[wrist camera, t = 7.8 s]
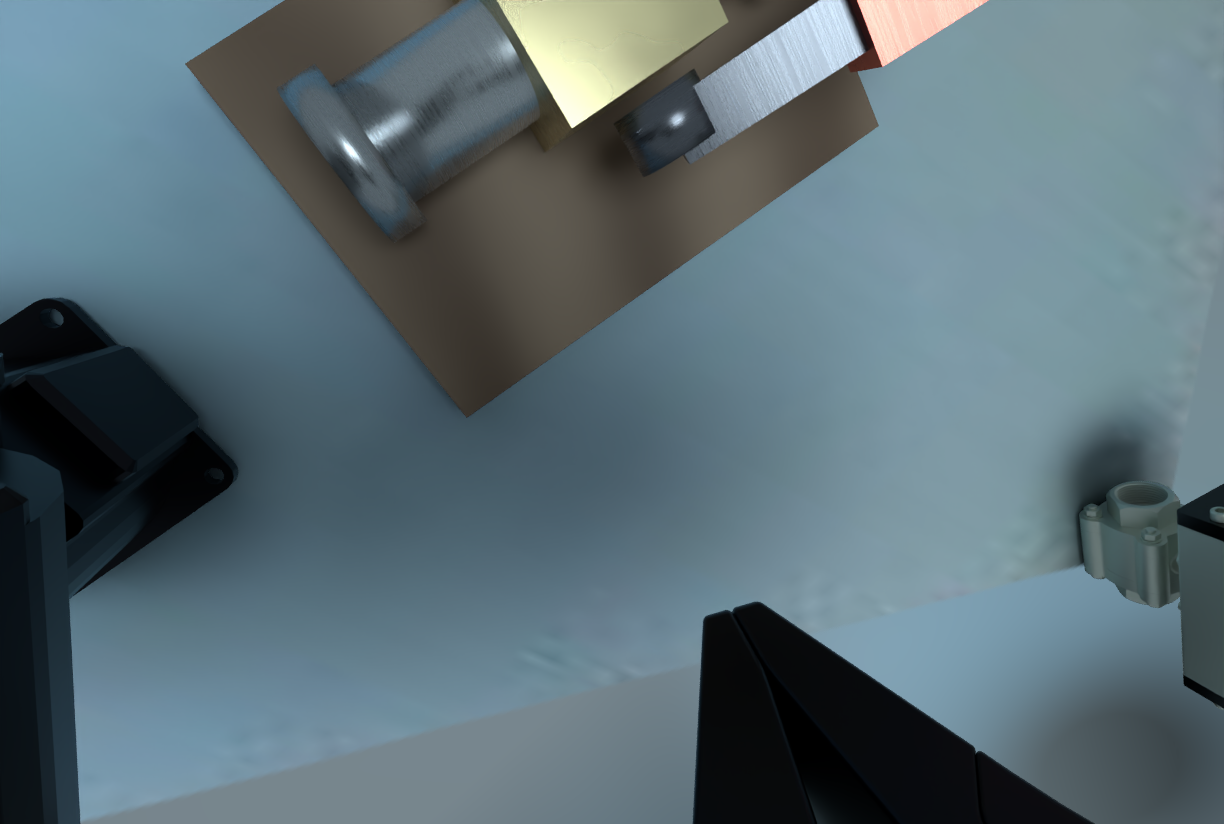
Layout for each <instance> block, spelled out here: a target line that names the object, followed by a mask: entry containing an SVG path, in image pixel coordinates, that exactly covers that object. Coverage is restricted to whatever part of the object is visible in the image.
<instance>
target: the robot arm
mask: <svg viewBox="0 0 1224 824" xmlns="http://www.w3.org/2000/svg"><path fill="white" fill-rule="evenodd" d="M51 309H56V310H57V311H59V312H60V313H61V314H62V316H63V317H64V322H63V324H62V325H61V326H57V325H55V324H54V323H52V322H51V320H50V318H49V312H50V311H51ZM210 468H218V469H220V470H221V471H222V472H223V473H224V479H221V480H220V479H215V478H213V477H211V475H210V473H209V469H210ZM237 475H238V469H237V466H236V464H235V463H234V462H233V460H232V459H231V458H230V457H229V456H228V455H227V454H226V453H225V452H224V451H223V450H222V449H221V448H219V447H218V446H217V445H216V444H215V443H214V442H213V441H212V440H211V439H210V438H209V437H208V436H207V435H206V434H205V433H204V432H203V431H202V430H201V429H200V428H199V427H198V415H197V414H196V413H195V412H194V411H193V410H192V409H191V408H190V407H189V406H188V405H187V404H186V403H185V402H184V401H183V400H182V399H181V398H180V397H179V396H178V395H177V394H176V393H175V392H174V391H173V390H172V389H171V388H170V387H169V386H168V385H167V384H166V383H165V382H164V381H163V380H162V379H161V378H160V377H159V376H158V375H157V374H156V373H155V372H154V371H153V370H152V369H151V368H150V367H149V366H148V365H147V364H146V363H145V362H144V361H143V360H142V359H141V358H140V357H139V356H138V355H137V354H136V353H135V352H134V351H133V350H132V349H131V348H129V347H123V346H117V345H116V344H115V343H114V342H113V341H112V340H111V339H110V338H109V337H108V336H107V335H106V334H105V333H104V332H103V331H102V330H101V329H100V328H99V327H98V326H97V325H96V324H95V323H94V322H93V321H92V320H91V319H90V318H89V317H88V316H87V315H86V314H85V313H84V312H83V311H82V310H81V309H80V308H79V307H78V306H77V305H75V304H74V303H73V302H71V301H70V300H67V299H64V298H46V299H41V300H39V301H36V302H34V303H33V304H31V305H30V306H28V307H26V308H25V309H23V310H22V311H20V312H19V313H17V314H16V315H14V316H13V317H11V318H10V319H8V320H7V321H5V322H4V323H2V324H1V325H0V824H80V808H79V788H78V768H77V748H76V729H75V709H74V689H73V669H72V649H71V629H70V609H69V599H70V598H71V597H72V596H74V595H75V594H77V593H78V592H80V591H81V590H82V589H84V588H85V587H87V586H88V585H90V584H91V583H92V582H94V581H95V580H97V579H98V578H100V577H101V576H103V575H104V574H105V573H107V572H108V571H110V570H111V569H113V568H114V567H115V566H117V565H118V564H120V563H121V562H123V561H124V560H126V559H127V558H128V557H130V556H131V555H133V554H134V553H136V552H137V551H138V550H140V549H141V548H143V547H144V546H146V545H147V544H149V543H150V542H151V541H153V540H154V539H156V538H157V537H159V536H160V535H161V534H163V533H164V532H166V531H167V530H169V529H170V528H172V527H173V526H174V525H176V524H177V523H179V522H180V521H182V520H183V519H184V518H186V517H187V516H189V515H190V514H192V513H193V512H195V511H196V510H197V509H199V508H200V507H202V506H203V505H205V504H206V503H207V502H209V501H210V500H212V499H213V498H215V497H216V496H218V495H219V494H220V493H222V492H223V491H225V490H226V489H227V488H228V487H229V486H230V485H231V484H232V483H233V482H234V481H235V480H236V478H237ZM693 824H1094V823H1093V822H1091V821H1089V820H1088V819H1086V818H1084V817H1083V816H1081V815H1079V814H1078V813H1076V812H1074V811H1072V810H1071V809H1069V808H1067V807H1066V806H1064V805H1062V804H1061V803H1059V802H1058V801H1056V800H1055V799H1052V798H1051V797H1050V796H1048V795H1047V794H1045V793H1043V792H1042V791H1041V790H1039V789H1037V788H1036V787H1034V786H1033V785H1031V784H1030V783H1028V782H1027V781H1025V780H1024V779H1022V778H1020V777H1019V776H1017V775H1016V774H1014V773H1013V772H1011V771H1010V770H1008V769H1007V768H1005V767H1004V766H1002V765H1001V764H999V763H998V762H996V761H995V760H993V759H992V758H991V757H989V756H987V755H986V754H985V753H983V752H981V751H978V752H977V753H976V751H975V748H974V747H973V746H972V745H971V744H969V743H968V742H967V741H965V740H964V739H962V738H961V737H959V736H958V735H956V734H954V733H953V732H951V731H950V730H949V729H947V728H946V727H944V726H943V725H941V724H940V723H938V722H937V721H935V720H934V719H933V718H931V717H930V716H928V715H926V714H925V713H924V712H922V711H921V710H919V709H917V708H916V707H915V706H913V705H912V704H910V703H909V702H907V701H906V700H904V699H903V698H902V697H900V696H899V695H897V694H895V693H894V692H893V691H891V690H890V689H888V688H887V687H885V686H883V685H882V684H881V683H879V682H877V681H876V680H875V679H873V678H872V677H871V676H869V675H868V674H866V673H865V672H863V671H862V670H860V669H859V668H857V667H856V666H854V665H853V664H851V663H850V662H848V661H847V660H845V659H844V658H842V657H841V656H839V655H838V654H836V653H835V652H833V651H832V650H831V649H829V648H828V647H826V646H825V645H823V644H822V643H820V642H819V641H817V640H816V639H814V638H813V637H811V636H810V635H808V634H807V633H806V632H804V631H803V630H801V629H800V628H798V627H797V626H795V625H794V624H792V623H791V622H789V621H788V620H786V619H785V618H783V617H782V616H780V615H779V614H777V613H776V612H775V611H773V610H772V609H770V608H769V607H767V606H766V605H764V604H763V603H761V602H752V603H749V604H745V605H742V606H739V607H736V608H734V609H733V611H732V612H731V611H729V610H725V611H721V612H718V613H714V614H711V615H708V616H706V617H705V618H704V620H703V634H702V653H701V675H700V692H699V711H698V730H697V750H696V769H695V788H694V808H693Z"/></svg>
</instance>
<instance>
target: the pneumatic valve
mask: <svg viewBox="0 0 1224 824" xmlns="http://www.w3.org/2000/svg"><path fill="white" fill-rule="evenodd" d="M1079 518H1080V528H1081V537H1082V547H1083V557H1084V566H1085V571H1086V572H1087V573H1088V574H1090V575H1091V576H1092V577H1093V578H1096V579H1104V578H1107V579H1108V580H1110V581H1111V582H1113V583H1115V585H1116V587H1117V588H1118V590H1119V591H1120V593H1121V594H1122V595H1123V596H1124V597H1125V598H1127V599H1129V600H1131V601H1134V602H1137V603H1140V604H1144V605H1149V606H1151V607H1155V608H1160V607H1162V606H1164V605H1166V604H1169V603H1172V602H1173V601H1175V600H1176V599H1178V598H1179V597H1180V602H1179V604H1178V609H1179V610H1181V630H1182V631H1181V632H1182V654H1183V655H1182V656H1183V679H1184V680H1183V681H1184V685H1185V686H1186V687H1188V688H1190V689H1191V690H1193V691H1195V692H1196V693H1198V694H1200V695H1201V696H1203V697H1205V698H1206V699H1208V700H1210V701H1212V702H1213V703H1214V705H1215V706H1216V707H1218V708H1220V709H1222V710H1224V484H1222V485H1220V486H1219V487H1217V488H1215V489H1213V490H1211V491H1210V492H1208V493H1206V494H1204V495H1202V496H1200V497H1199V498H1197V499H1195V500H1194V501H1191V502H1190V503H1188V504H1186V505H1182V504H1180V500H1179V498H1178V497H1177V496H1176V494H1175V493H1174V492H1173V491H1172V490H1171V489H1170V488H1168V487H1167V486H1164V485H1162V484H1159V483H1155V482H1149V481H1130V482H1124V483H1121V484H1118V485H1116V486H1115V487H1113V488H1112V489H1111V490H1110V491H1108V493H1107V494H1106V501H1105V502H1104V503H1102V504H1101V505H1100V506H1098V505H1095V504H1089V505H1087V506H1085V507H1084V510H1082V511H1081V512H1080V513H1079Z"/></svg>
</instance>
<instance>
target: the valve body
mask: <svg viewBox="0 0 1224 824" xmlns="http://www.w3.org/2000/svg"><path fill="white" fill-rule="evenodd" d="M451 1H452V2H453V4H454V6H452V7H451V8H449V9H447V10H446V11H444V12H443V13H441V14H440V15H438V16H437V17H435V18H434V19H432V20H431V21H429V22H427V23H426V24H424V25H423V26H421V27H420V28H418V29H417V30H415V31H414V32H412V33H411V34H409V35H408V36H406V37H404V38H403V39H401V40H400V41H398V42H397V43H395V44H394V45H392V46H391V47H389V48H388V49H386V50H385V51H383V52H381V53H380V54H378V55H377V56H375V57H374V58H372V59H371V60H369V61H368V62H366V63H365V64H363V65H361V66H360V67H358V68H357V69H355V70H354V71H352V72H351V73H349V74H348V75H346V76H345V77H343V78H342V79H340V80H338V81H337V82H335V83H334V84H332V85H330V83H329V82H328V81H327V79H326V78H325V76H324V75H323V74H322V72H321V71H320V70H319V68H318V67H317V66H316V64H315V63H314V64H313V65H311V66H310V67H308V68H307V69H305V70H304V71H302V72H300V73H299V74H297V75H296V76H294V77H293V78H291V79H290V80H288V81H287V82H285V83H283V84H282V85H280V86H279V87H277V91H278V93H279V95H280V96H281V98H282V99H283V101H284V102H285V104H286V105H287V107H288V108H289V110H290V111H291V113H292V114H293V116H294V117H295V118H296V120H297V121H298V123H299V124H300V125H301V127H302V128H303V130H304V131H305V132H306V134H307V135H308V136H309V138H310V139H311V141H312V142H313V143H314V145H315V146H316V147H317V149H318V150H319V151H320V153H321V154H322V155H323V157H324V158H325V159H326V161H327V162H328V163H329V165H330V166H331V167H332V169H333V170H334V171H335V172H336V174H337V175H338V176H339V178H340V179H341V180H342V182H343V183H344V184H345V185H346V187H347V188H348V189H349V190H350V192H351V193H352V194H353V196H354V197H355V198H356V199H357V201H358V202H359V203H360V204H361V206H362V207H363V208H364V209H365V211H366V212H367V213H368V214H369V215H370V217H371V218H372V219H373V220H374V221H375V223H376V224H377V225H378V226H379V227H380V229H381V230H382V231H383V232H384V233H385V234H386V235H387V236H388V238H389V239H390V240H391V241H393V242H394V243H395V242H396V241H398V240H399V239H401V238H402V237H404V236H405V235H407V234H408V233H409V232H411V231H412V230H414V229H415V228H417V227H418V226H420V225H421V224H423V223H424V222H426V221H427V219H426V218H425V216H424V215H423V213H422V212H421V210H420V209H419V208H418V206H417V205H416V203H415V202H417V201H418V200H420V199H421V198H422V197H424V196H425V195H427V194H428V193H430V192H431V191H433V190H434V189H436V188H437V187H439V186H440V185H442V184H443V183H445V182H446V181H448V180H449V179H451V178H452V177H454V176H455V175H457V174H458V173H460V172H461V171H463V170H464V169H465V168H467V167H468V166H470V165H471V164H473V163H474V162H476V161H477V160H479V159H480V158H482V157H483V156H485V155H486V154H488V153H489V152H491V151H492V150H494V149H495V148H497V147H498V146H500V145H501V144H503V143H504V142H505V141H507V140H508V139H510V138H511V137H513V136H514V135H516V134H517V133H519V132H520V131H522V130H523V129H525V128H526V127H528V126H529V128H530V129H531V131H532V132H533V134H534V136H535V137H536V139H537V141H538V142H539V144H540V145H541V147H542V149H543V150H544V152H545V153H546V152H547V151H548V150H550V149H551V148H553V147H554V146H556V145H557V144H559V143H560V142H562V141H563V140H565V139H566V138H568V137H569V136H570V135H572V134H573V133H575V132H576V131H578V130H579V129H581V128H582V127H584V126H585V125H587V124H588V123H590V122H591V121H593V120H594V119H595V118H597V117H598V116H600V115H601V114H603V113H604V112H606V111H607V110H609V109H610V108H612V107H613V106H615V105H616V104H618V103H619V102H620V101H622V100H623V99H625V98H626V97H628V96H629V95H631V94H632V93H634V92H635V91H637V90H638V89H640V88H641V87H643V86H644V85H645V84H647V83H648V82H650V81H651V80H653V79H654V78H656V77H657V76H659V75H660V74H662V73H663V72H665V71H666V70H668V69H669V68H670V67H672V66H673V65H674V64H676V63H677V62H678V61H679V60H681V59H682V58H683V57H685V56H686V55H687V54H688V53H690V52H691V51H692V50H693V49H695V48H696V47H697V46H699V45H700V44H701V43H702V42H704V41H705V40H706V39H708V38H709V37H710V36H711V35H713V34H714V33H715V32H716V31H718V30H719V29H720V28H722V27H723V26H724V25H725V24H727V23H728V22H729V21H728V19H727V17H726V15H725V13H724V11H723V8H722V6H721V4H720V2H719V0H451Z"/></svg>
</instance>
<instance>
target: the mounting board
mask: <svg viewBox="0 0 1224 824" xmlns="http://www.w3.org/2000/svg"><path fill="white" fill-rule="evenodd" d="M817 1H818V0H719V2H720V4H721V6H722V8H723V11H724V13H725V15H726V17H727V19H728V21H729V22H728V23H727V24H725V25H724V26H723V27H722V28H720V29H719V30H718V31H716V32H715V33H714V34H713V35H711V36H710V37H709V38H708V39H706V40H705V41H704V42H702V43H701V44H700V45H699V46H697V47H696V48H695V49H693V50H692V51H691V52H690V53H688V54H687V55H686V56H685V57H683V58H682V59H681V60H679V61H678V62H677V63H676V64H674V65H673V66H672V67H670V68H669V69H668V70H666V71H665V72H663V73H662V74H660V75H659V76H657V77H656V78H654V79H653V80H651V81H650V82H648V83H647V84H645V85H644V86H643V87H641V88H640V89H638V90H637V91H635V92H634V93H632V94H631V95H629V96H628V97H626V98H625V99H623V100H622V101H620V102H619V103H618V104H616V105H615V106H613V107H612V108H610V109H609V110H607V111H606V112H604V113H603V114H601V115H600V116H598V117H597V118H595V119H594V120H593V121H591V122H590V123H588V124H587V125H585V126H584V127H582V128H581V129H579V130H578V131H576V132H575V133H573V134H572V135H570V136H569V137H568V138H566V139H565V140H563V141H562V142H560V143H559V144H557V145H556V146H554V147H553V148H551V149H550V150H548V151H547V152H546V153H545V152H544V150H543V149H542V147H541V145H540V144H539V142H538V141H537V139H536V137H535V136H534V134H533V132H532V131H531V129H530V128H529V126H528V127H526V128H525V129H523V130H522V131H520V132H519V133H517V134H516V135H514V136H513V137H511V138H510V139H508V140H507V141H505V142H504V143H503V144H501V145H500V146H498V147H497V148H495V149H494V150H492V151H491V152H489V153H488V154H486V155H485V156H483V157H482V158H480V159H479V160H477V161H476V162H474V163H473V164H471V165H470V166H468V167H467V168H465V169H464V170H463V171H461V172H460V173H458V174H457V175H455V176H454V177H452V178H451V179H449V180H448V181H446V182H445V183H443V184H442V185H440V186H439V187H437V188H436V189H434V190H433V191H431V192H430V193H428V194H427V195H425V196H424V197H422V198H421V199H420V200H418V201H417V202H415V203H416V205H417V206H418V208H419V209H420V210H421V212H422V213H423V215H424V216H425V218H426V219H427V221H426V222H424V223H423V224H421V225H420V226H418V227H417V228H415V229H414V230H412V231H411V232H409V233H408V234H407V235H405V236H404V237H402V238H401V239H399V240H398V241H396V242H395V243H394V242H393V241H391V240H390V239H389V238H388V236H387V235H386V234H385V233H384V232H383V231H382V230H381V229H380V227H379V226H378V225H377V224H376V223H375V221H374V220H373V219H372V218H371V217H370V215H369V214H368V213H367V212H366V211H365V209H364V208H363V207H362V206H361V204H360V203H359V202H358V201H357V199H356V198H355V197H354V196H353V194H352V193H351V192H350V190H349V189H348V188H347V187H346V185H345V184H344V183H343V182H342V180H341V179H340V178H339V176H338V175H337V174H336V172H335V171H334V170H333V169H332V167H331V166H330V165H329V163H328V162H327V161H326V159H325V158H324V157H323V155H322V154H321V153H320V151H319V150H318V149H317V147H316V146H315V145H314V143H313V142H312V141H311V139H310V138H309V136H308V135H307V134H306V132H305V131H304V130H303V128H302V127H301V125H300V124H299V123H298V121H297V120H296V118H295V117H294V116H293V114H292V113H291V111H290V110H289V108H288V107H287V105H286V104H285V102H284V101H283V99H282V98H281V96H280V95H279V93H278V91H277V87H279V86H280V85H282V84H283V83H285V82H287V81H288V80H290V79H291V78H293V77H294V76H296V75H297V74H299V73H300V72H302V71H304V70H305V69H307V68H308V67H310V66H311V65H313V64H314V63H315V64H316V66H317V67H318V68H319V70H320V71H321V72H322V74H323V75H324V76H325V78H326V79H327V81H328V82H329V83H330V85H332V84H334V83H335V82H337V81H338V80H340V79H342V78H343V77H345V76H346V75H348V74H349V73H351V72H352V71H354V70H355V69H357V68H358V67H360V66H361V65H363V64H365V63H366V62H368V61H369V60H371V59H372V58H374V57H375V56H377V55H378V54H380V53H381V52H383V51H385V50H386V49H388V48H389V47H391V46H392V45H394V44H395V43H397V42H398V41H400V40H401V39H403V38H404V37H406V36H408V35H409V34H411V33H412V32H414V31H415V30H417V29H418V28H420V27H421V26H423V25H424V24H426V23H427V22H429V21H431V20H432V19H434V18H435V17H437V16H438V15H440V14H441V13H443V12H444V11H446V10H447V9H449V8H451V7H452V6H454V4H453V2H452V1H451V0H285V1H283V2H281V3H280V4H278V5H277V6H275V7H274V8H272V9H270V10H269V11H267V12H266V13H264V14H263V15H261V16H259V17H258V18H256V19H255V20H253V21H252V22H250V23H248V24H247V25H245V26H244V27H242V28H241V29H239V30H237V31H236V32H234V33H233V34H231V35H230V36H228V37H226V38H225V39H223V40H222V41H220V42H219V43H217V44H215V45H214V46H212V47H211V48H209V49H208V50H206V51H204V52H203V53H201V54H200V55H198V56H197V57H195V58H193V59H192V60H190V61H189V62H187V63H186V66H187V67H188V68H189V69H190V71H191V72H192V73H193V74H194V76H195V77H196V78H197V79H198V81H199V82H200V83H201V84H202V86H203V87H204V88H205V89H206V91H207V92H208V93H209V94H210V96H211V97H212V98H213V99H214V101H215V102H216V103H217V105H218V106H219V107H220V108H221V110H222V111H223V112H224V113H225V115H226V116H227V117H228V118H229V120H230V121H231V122H232V123H233V125H234V126H235V127H236V128H237V130H238V131H239V132H240V133H241V135H242V136H243V137H244V138H245V140H246V141H247V142H248V143H249V145H250V146H251V147H252V149H253V150H254V151H255V152H256V154H257V155H258V156H259V157H260V159H261V160H262V161H263V162H264V164H265V165H266V166H267V167H268V169H269V170H270V171H271V172H272V174H273V175H274V176H275V177H276V179H277V180H278V181H279V182H280V184H281V185H282V186H283V187H284V189H285V190H286V191H287V193H288V194H289V195H290V196H291V198H292V199H293V200H294V201H295V203H296V204H297V205H298V206H299V208H300V209H301V210H302V211H303V213H304V214H305V215H306V216H307V218H308V219H309V220H310V221H311V223H312V224H313V225H314V226H315V228H316V229H317V230H318V231H319V233H320V234H321V235H322V236H323V238H324V239H325V240H326V242H327V243H328V244H329V245H330V247H331V248H332V249H333V250H334V252H335V253H336V254H337V255H338V257H339V258H340V259H341V260H342V262H343V263H344V264H345V265H346V267H347V268H348V269H349V270H350V272H351V273H352V274H353V275H354V277H355V278H356V279H357V280H358V282H359V283H360V284H361V286H362V287H363V288H364V289H365V291H366V292H367V293H368V294H369V296H370V297H371V298H372V299H373V301H374V302H375V303H376V304H377V306H378V307H379V308H380V309H381V311H382V312H383V313H384V314H385V316H386V317H387V318H388V319H389V321H390V322H391V323H392V324H393V326H394V327H395V328H396V330H397V331H398V332H399V333H400V335H401V336H402V337H403V338H404V340H405V341H406V342H407V343H408V345H409V346H410V347H411V348H412V350H413V351H414V352H415V353H416V355H417V356H418V357H419V358H420V360H421V361H422V362H423V363H424V365H425V366H426V367H427V368H428V370H429V371H430V372H431V374H432V375H433V376H434V377H435V379H436V380H437V381H438V382H439V384H440V385H441V386H442V387H443V389H444V390H445V391H446V392H447V394H448V395H449V396H450V397H451V399H452V400H453V401H454V402H455V404H456V405H457V406H458V407H459V409H460V410H461V411H462V412H463V414H464V415H465V416H466V418H467V417H469V416H470V415H471V414H473V413H474V412H476V411H477V410H478V409H480V408H481V407H483V406H484V405H486V404H487V403H488V402H490V401H491V400H493V399H494V398H495V397H497V396H498V395H500V394H501V393H502V392H504V391H505V390H507V389H508V388H510V387H511V386H512V385H514V384H515V383H517V382H518V381H519V380H521V379H522V378H524V377H525V376H526V375H528V374H529V373H531V372H532V371H534V370H535V369H536V368H538V367H539V366H541V365H542V364H543V363H545V362H546V361H548V360H549V359H550V358H552V357H553V356H555V355H556V354H557V353H559V352H560V351H562V350H563V349H565V348H566V347H567V346H569V345H570V344H572V343H573V342H574V341H576V340H577V339H579V338H580V337H581V336H583V335H584V334H586V333H587V332H589V331H590V330H591V329H593V328H594V327H596V326H597V325H598V324H600V323H601V322H603V321H604V320H605V319H607V318H608V317H610V316H611V315H613V314H614V313H615V312H617V311H618V310H620V309H621V308H622V307H624V306H625V305H627V304H628V303H629V302H631V301H632V300H634V299H635V298H636V297H638V296H639V295H641V294H642V293H644V292H645V291H646V290H648V289H649V288H651V287H652V286H653V285H655V284H656V283H658V282H659V281H660V280H662V279H663V278H665V277H666V276H668V275H669V274H670V273H672V272H673V271H675V270H676V269H677V268H679V267H680V266H682V265H683V264H684V263H686V262H687V261H689V260H690V259H692V258H693V257H694V256H696V255H697V254H699V253H700V252H701V251H703V250H704V249H706V248H707V247H708V246H710V245H711V244H713V243H714V242H715V241H717V240H718V239H720V238H721V237H723V236H724V235H725V234H727V233H728V232H730V231H731V230H732V229H734V228H735V227H737V226H738V225H739V224H741V223H742V222H744V221H745V220H747V219H748V218H749V217H751V216H752V215H754V214H755V213H756V212H758V211H759V210H761V209H762V208H763V207H765V206H766V205H768V204H769V203H770V202H772V201H773V200H775V199H776V198H778V197H779V196H780V195H782V194H783V193H785V192H786V191H787V190H789V189H790V188H792V187H793V186H794V185H796V184H797V183H799V182H800V181H802V180H803V179H804V178H806V177H807V176H809V175H810V174H811V173H813V172H814V171H816V170H817V169H818V168H820V167H821V166H823V165H824V164H826V163H827V162H828V161H830V160H831V159H833V158H834V157H835V156H837V155H838V154H840V153H841V152H842V151H844V150H845V149H847V148H848V147H849V146H851V145H852V144H854V143H855V142H857V141H858V140H859V139H861V138H862V137H864V136H865V135H866V134H868V133H869V132H871V131H872V130H873V129H875V128H876V127H878V126H879V125H878V123H877V120H876V118H875V115H874V113H873V110H872V108H871V105H870V102H869V100H868V97H867V95H866V92H865V90H864V87H863V85H862V82H861V80H860V77H859V75H858V72H852V73H850V70H849V68H848V65H847V64H846V65H845V66H843V67H842V68H840V69H839V70H837V71H836V72H834V73H832V74H831V75H829V76H828V77H826V78H825V79H823V80H821V81H820V82H818V83H817V84H815V85H814V86H812V87H811V88H809V89H807V90H806V91H804V92H803V93H801V94H800V95H798V96H797V97H795V98H793V99H792V100H790V101H789V102H787V103H786V104H784V105H783V106H781V107H779V108H778V109H776V110H775V111H773V112H772V113H770V114H768V115H767V116H765V117H764V118H762V119H761V120H759V121H758V122H756V123H754V124H753V125H751V126H750V127H748V128H747V129H745V130H744V131H742V132H740V133H739V134H737V135H736V136H734V137H733V138H731V139H729V140H728V141H726V142H725V143H723V144H722V145H720V146H719V147H717V148H715V149H714V150H712V151H711V152H709V153H708V154H706V155H705V156H703V157H701V158H700V159H698V160H697V161H695V162H694V163H692V164H689V163H688V162H687V161H686V160H685V158H684V156H681V157H680V158H678V159H676V160H675V161H673V162H672V163H670V164H668V165H667V166H665V167H663V168H661V169H660V170H658V171H656V172H654V173H652V174H650V175H648V176H645V177H643V176H642V174H641V172H640V170H639V169H638V167H637V165H636V163H635V161H634V160H633V158H632V156H631V154H630V152H629V151H628V149H627V147H626V145H625V144H624V142H623V140H622V138H621V136H620V135H619V133H618V131H617V129H616V128H615V126H614V123H615V122H616V121H618V120H619V119H621V118H622V117H623V116H625V115H626V114H628V113H629V112H631V111H632V110H634V109H635V108H636V107H638V106H639V105H641V104H642V103H644V102H645V101H647V100H648V99H649V98H651V97H652V96H654V95H655V94H657V93H658V92H660V91H661V90H663V89H664V88H666V87H667V86H668V85H670V84H671V83H673V82H674V81H676V80H677V79H679V78H680V77H682V76H683V75H685V74H686V73H688V72H689V71H691V70H692V69H694V68H695V70H696V72H697V74H698V76H699V78H700V80H702V79H703V78H705V77H706V76H707V75H709V74H710V73H712V72H713V71H715V70H716V69H718V68H719V67H721V66H722V65H724V64H725V63H727V62H728V61H730V60H731V59H733V58H734V57H736V56H737V55H738V54H740V53H741V52H743V51H744V50H746V49H747V48H749V47H750V46H752V45H753V44H755V43H756V42H758V41H759V40H761V39H762V38H764V37H765V36H766V35H768V34H769V33H771V32H772V31H774V30H775V29H777V28H778V27H780V26H781V25H783V24H784V23H786V22H787V21H789V20H790V19H792V18H793V17H794V16H796V15H797V14H799V13H800V12H802V11H803V10H805V9H806V8H808V7H809V6H811V5H812V4H814V3H815V2H817Z"/></svg>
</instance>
